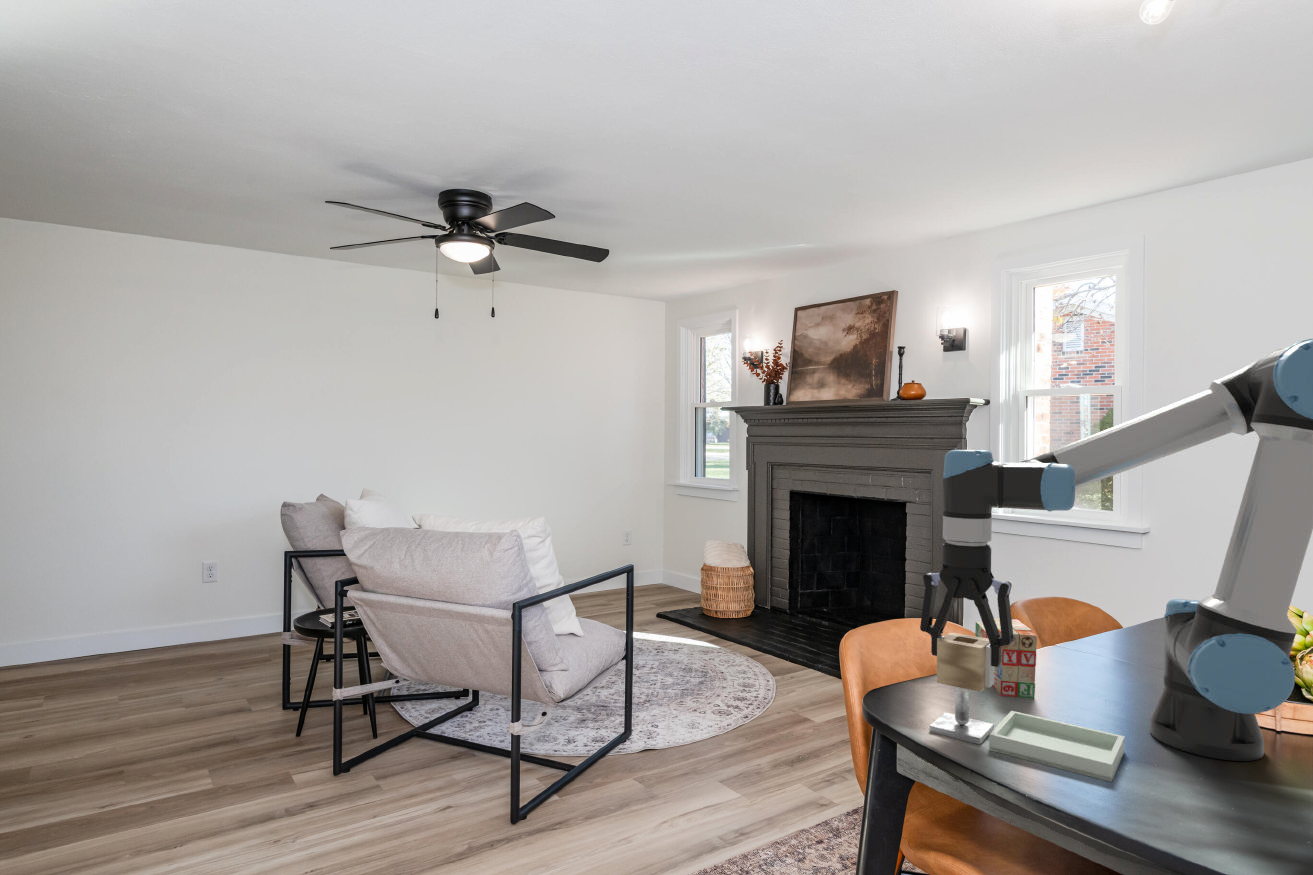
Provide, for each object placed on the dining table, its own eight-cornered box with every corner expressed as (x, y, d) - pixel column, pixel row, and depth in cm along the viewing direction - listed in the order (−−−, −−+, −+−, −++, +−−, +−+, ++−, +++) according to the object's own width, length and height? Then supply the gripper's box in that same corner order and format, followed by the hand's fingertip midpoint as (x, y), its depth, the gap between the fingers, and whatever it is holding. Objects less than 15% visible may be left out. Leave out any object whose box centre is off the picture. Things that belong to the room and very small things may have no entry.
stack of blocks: (974, 663, 166) (975, 607, 166) (1004, 665, 165) (1006, 608, 165) (1000, 696, 145) (1002, 631, 145) (1035, 699, 144) (1037, 634, 144)
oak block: (993, 681, 128) (993, 639, 128) (981, 691, 122) (981, 648, 122) (950, 672, 132) (950, 632, 132) (936, 682, 126) (937, 640, 126)
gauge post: (993, 729, 128) (995, 657, 128) (980, 744, 122) (982, 668, 122) (944, 717, 133) (946, 648, 133) (929, 731, 127) (931, 658, 126)
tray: (1124, 752, 120) (1124, 736, 120) (1111, 781, 109) (1111, 764, 109) (1010, 725, 130) (1011, 710, 130) (989, 750, 120) (989, 734, 120)
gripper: (1037, 545, 124) (1035, 687, 124) (915, 534, 136) (913, 663, 136) (1026, 550, 118) (1024, 699, 118) (899, 539, 130) (898, 673, 130)
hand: (965, 680), depth 127 cm, fingers closed on oak block, 7 cm apart
